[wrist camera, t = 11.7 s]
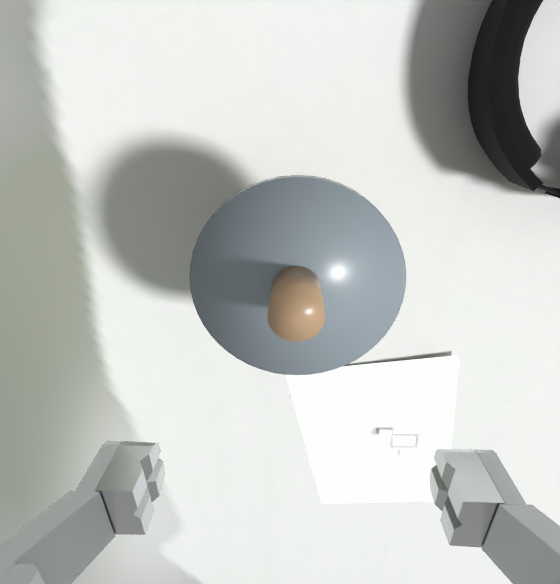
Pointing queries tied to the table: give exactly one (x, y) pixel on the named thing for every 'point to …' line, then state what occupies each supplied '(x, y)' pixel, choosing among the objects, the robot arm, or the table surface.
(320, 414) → the paper sheet
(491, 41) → the headphones
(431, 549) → the table surface
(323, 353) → the lid
